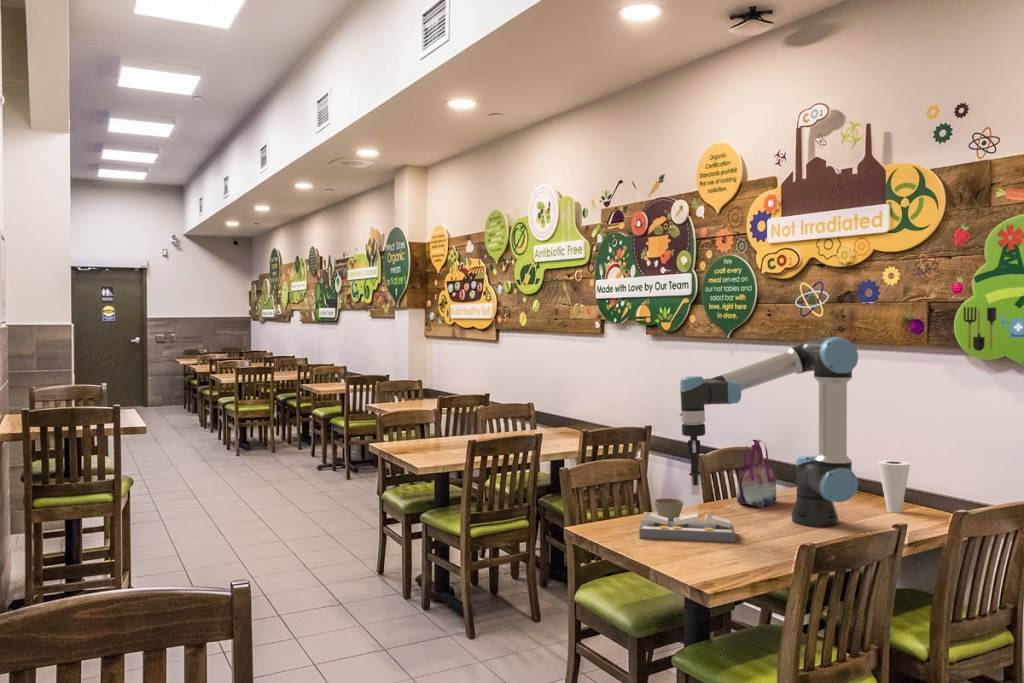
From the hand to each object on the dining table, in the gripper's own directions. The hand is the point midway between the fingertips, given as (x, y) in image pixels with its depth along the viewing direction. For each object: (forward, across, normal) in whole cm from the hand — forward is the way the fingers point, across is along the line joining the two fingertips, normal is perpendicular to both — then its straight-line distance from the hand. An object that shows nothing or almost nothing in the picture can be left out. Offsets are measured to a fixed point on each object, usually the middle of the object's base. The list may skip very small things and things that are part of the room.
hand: (695, 494), depth 247 cm
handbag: (+15, -51, +23) cm, 58 cm away
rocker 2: (+8, 0, -3) cm, 9 cm away
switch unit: (+13, +1, -4) cm, 14 cm away
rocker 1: (+8, 0, -13) cm, 16 cm away
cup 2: (+16, -46, +71) cm, 86 cm away
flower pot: (+14, -18, -10) cm, 24 cm away
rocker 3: (+9, 0, +7) cm, 11 cm away
